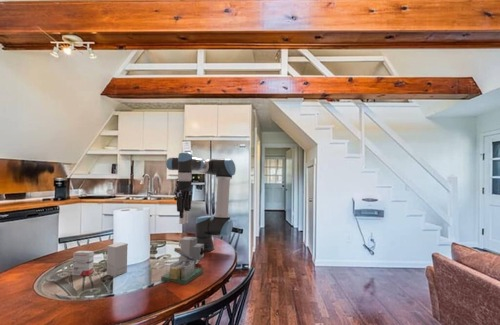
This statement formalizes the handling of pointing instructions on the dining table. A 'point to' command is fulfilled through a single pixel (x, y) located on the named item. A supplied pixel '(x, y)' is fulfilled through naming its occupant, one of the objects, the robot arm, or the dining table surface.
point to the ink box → (83, 263)
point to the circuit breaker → (191, 248)
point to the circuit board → (182, 272)
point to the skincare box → (117, 259)
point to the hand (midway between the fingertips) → (183, 223)
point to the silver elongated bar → (183, 254)
